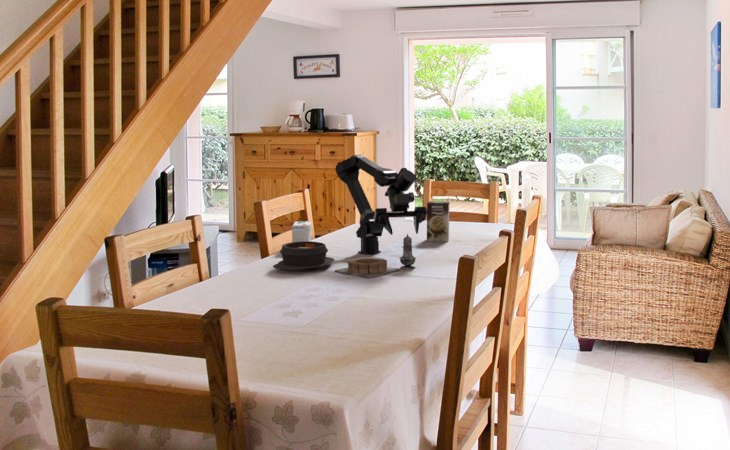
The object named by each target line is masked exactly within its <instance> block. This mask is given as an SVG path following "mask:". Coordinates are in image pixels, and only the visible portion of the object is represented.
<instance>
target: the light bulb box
mask: <svg viewBox="0 0 730 450" xmlns="http://www.w3.org/2000/svg"><path fill="white" fill-rule="evenodd" d="M291 237H292V238H291V239H292V240H291V243H292V242H304V241H310V242H312V221H311V220H309V221H308V220H307V221H306V220H305V221H304V220H301V221H299V220H298V221H294V223H293V224H292V225H291Z"/></svg>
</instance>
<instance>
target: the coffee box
mask: <svg viewBox="0 0 730 450" xmlns="http://www.w3.org/2000/svg"><path fill="white" fill-rule="evenodd" d="M450 202H451V201H427V202H426V208H427V215H426V242H443V243H444V242H445V243H446V242H447V243H448V242H449V240H450Z"/></svg>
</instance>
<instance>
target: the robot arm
mask: <svg viewBox="0 0 730 450" xmlns="http://www.w3.org/2000/svg"><path fill="white" fill-rule="evenodd" d="M360 170H362V171H363V172H364V173H366V174H368V175H369V176H372V177H373V181H374V182H375V183H376V184H377V185H378V186H379V187H387V189H386V191H385V193H384V196H385V197H388V201H389V209H390V210H391V211H390V210H389V211H388V209H387V207H380V208H379V207H378V208H377V207H376V208H375V210H373V208H372V207H371V204H370V202H369V200H368V198H367V196H366V193H365V191H364V189H363V187H362V185H361V182H360V180H359V175H360ZM335 173H336V175H337V176H338V177H339V180H340V181H341V182H343V183H344V184H345V185H346V186H347V188H348V191H349V192H350V195H351V197H352V199H353V201H354V204H355V206H356V209H357V211H358V213H359V222H358V223H359V227H358V229H357V230H356V232H355V233H356V234H355V235H356V237H357V238H358V239H359V238H360V250H359V251H357V253H358V254H364V255H373V254H374V255H375V254H379V253H381V252H382V251H381V250H379V247H380V246H379V244H380V243H379V242H380V241H379V237H382V235H383V231H384V229H385V230H386V231H387V232H388V233H389V235H391V236H393V228H392V225H391V222H390V218H397V219H398V218H401V219H402V218H412V219H413V226H414V230H415V234H416V235H417V234H418V233H419V228H420V224H421V223H423V222H425V221H426V219H427V206H425V205H424V206H422V205H421V206H415V207H414V210H409V208H410V203H414V202H415V195H414V194H415V193H414V192H412V191H411V192H408V193H405V192H407V191H408V190H409V189H410V188H411V186H413V184H414V183H415V182H416V181H417V176H416V174H415V173H413V172H412V170H409V169H407V167H401V169H400V170H399V171H398V172H397V171H396V170H394V169H391V168H385V167H383V166H380V165H379V164H377V163H375V162H374V161H373V160H370V159H369V158H368V157H367V156H365V155H364V154H354V155H351V156H350V157H349V158H346V159H344V160H342V161H339V162H338V163H336V166H335Z"/></svg>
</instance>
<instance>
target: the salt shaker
mask: <svg viewBox="0 0 730 450" xmlns="http://www.w3.org/2000/svg"><path fill="white" fill-rule="evenodd" d="M402 240H403V246H402V248H403V249H402V250H403V251H402V252H403V253H402V256H400V257H399V261H400V264H401V266H400V267H399V269H401V270H408V271H409V270H414V269H416V266H414V264H415V263H416V259H417V258H416V256H414V255H413V243H412V242H413V241H412V240H413V239H412V238H411V237H410V236H409V234H406V236H405V237H403V239H402Z"/></svg>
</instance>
